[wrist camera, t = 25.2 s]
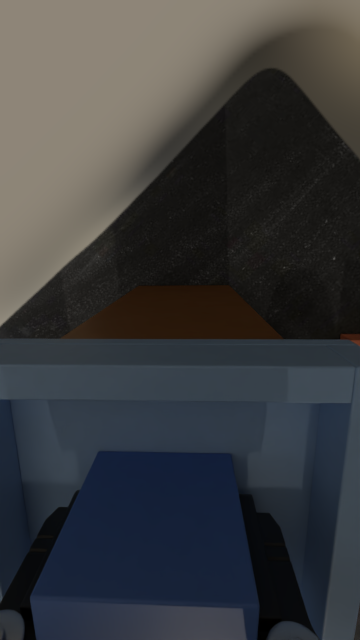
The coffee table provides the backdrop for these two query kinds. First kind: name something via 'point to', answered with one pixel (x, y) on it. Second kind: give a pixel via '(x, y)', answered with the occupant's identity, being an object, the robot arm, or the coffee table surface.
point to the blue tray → (193, 424)
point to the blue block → (151, 554)
